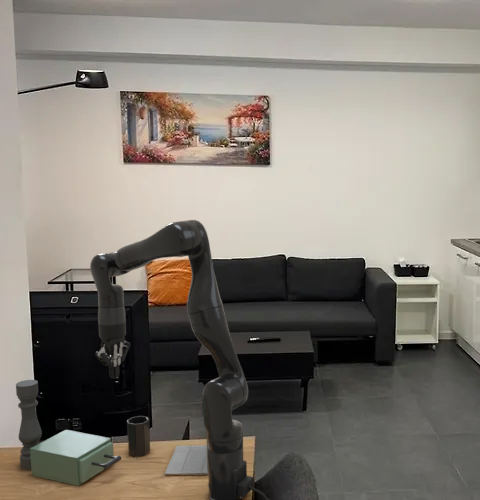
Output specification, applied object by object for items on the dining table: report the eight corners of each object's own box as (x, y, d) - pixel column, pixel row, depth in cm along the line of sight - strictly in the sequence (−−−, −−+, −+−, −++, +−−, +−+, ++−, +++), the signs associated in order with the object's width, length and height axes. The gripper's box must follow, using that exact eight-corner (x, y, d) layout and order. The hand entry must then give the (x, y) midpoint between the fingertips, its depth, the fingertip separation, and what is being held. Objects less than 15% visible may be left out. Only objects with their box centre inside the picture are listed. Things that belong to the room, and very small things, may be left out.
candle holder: (34, 471, 187) (29, 387, 183) (15, 468, 188) (9, 386, 184) (48, 461, 193) (43, 380, 189) (30, 459, 194) (24, 378, 190)
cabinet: (112, 464, 191) (110, 438, 190) (78, 486, 179) (76, 458, 177) (67, 454, 197) (66, 429, 196) (31, 475, 184) (29, 448, 183)
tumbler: (154, 450, 201) (152, 417, 199) (141, 458, 195) (139, 425, 193) (137, 446, 203) (136, 414, 201) (124, 455, 197) (122, 422, 195)
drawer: (129, 466, 188) (128, 445, 187) (99, 486, 177) (98, 464, 176) (71, 454, 195) (70, 434, 194) (39, 472, 184) (38, 451, 183)
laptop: (176, 447, 202) (175, 407, 200) (217, 447, 203) (216, 407, 201) (164, 476, 184) (162, 432, 183) (208, 475, 185) (208, 431, 183)
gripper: (106, 327, 182) (109, 386, 185) (137, 316, 194) (139, 372, 197) (85, 324, 185) (88, 383, 187) (116, 314, 197) (119, 369, 199)
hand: (114, 377), depth 192 cm, fingers closed
